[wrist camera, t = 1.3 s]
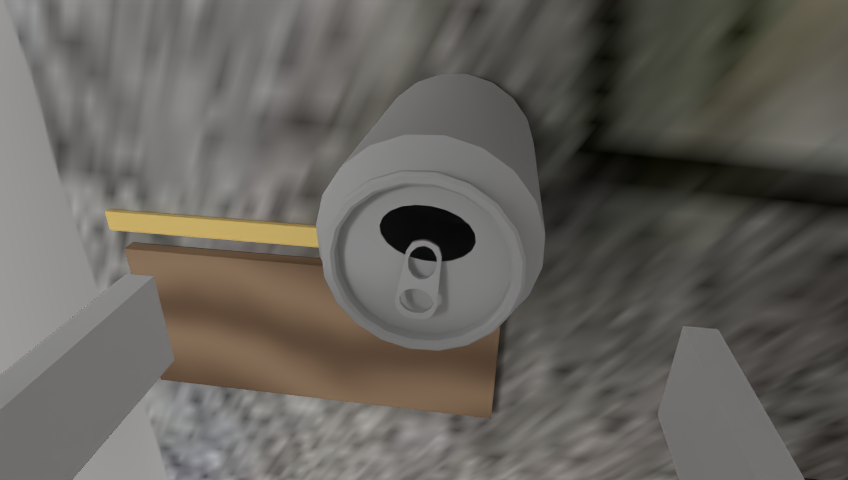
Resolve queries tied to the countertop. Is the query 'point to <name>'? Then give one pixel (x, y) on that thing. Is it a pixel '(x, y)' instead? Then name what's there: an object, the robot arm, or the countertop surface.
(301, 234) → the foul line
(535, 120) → the countertop surface
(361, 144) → the can
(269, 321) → the board
